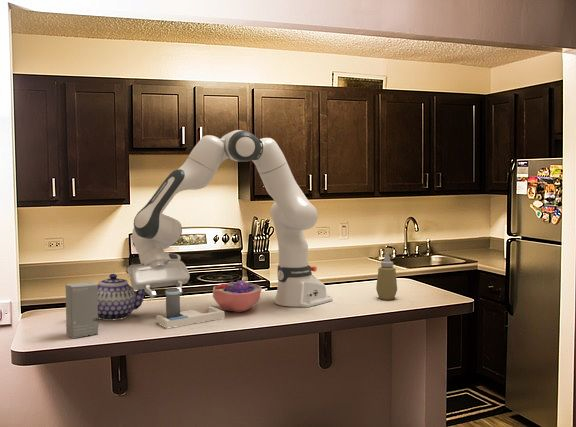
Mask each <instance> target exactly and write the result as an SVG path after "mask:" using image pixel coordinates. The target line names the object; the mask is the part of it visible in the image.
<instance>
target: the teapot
mask: <svg viewBox="0 0 576 427" xmlns="http://www.w3.org/2000/svg"><path fill="white" fill-rule="evenodd" d="M108 277H109V278H106V279H103V280H100V281H98V282H97V293H98V319H99V318H100V320H101V319H103V320H102V321H114V320H113V319H120V320H122V319H121V318H124V319H126V318H128V317H129V316H130V315H131V314H132V312H133V311H135V310H138V309H139V308H141V306H142V304H143V301H144V297H145V291H144V289H140V290H135V289H133V288H132V285H130V284H129V282H128V280H127V279H124V278H117V277H118V275H117V274H116V273H111V274H109V276H108ZM127 316H128V317H127ZM125 317H126V318H125Z"/></svg>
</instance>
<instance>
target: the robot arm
mask: <svg viewBox="0 0 576 427" xmlns="http://www.w3.org/2000/svg"><path fill="white" fill-rule="evenodd" d="M226 160H232V161H234V162H238V163H239V162H240V163H241V162H243V163H245V162H250V161H251V162H252V163H253V164H254V166H255V168H256V170H257V172H258V174H259V177H260V179H261V180H262V183H263V186H264V187H265V190H266V192H267V193H268V195H269V196H270V197H271V198H272V199H273V201H274V202H273V204H272V205H271V207H270V211H269V216H270V219H271V220H272V222H273V226H274V230H275V234H276V240H277V245H278V265H277V280H278V282H277V290H276V294H275V295H276V296H275V300H274V303H275V304H276V305H279V306H283V307H299V308H300V307H301V308H310V307H313V306H318V305H321V304H325V303H328V302H333V298H332V296H330V295H328V294H327V289H326V285H325V283H323V282H322V281H321V280H320V279H318V278H317V277H316V276H315V275H313V272H317V269H318V268H317V266H314V265H309V249H308V248H309V245H308V242H307V240H306V238H305V235H304V231H305V230H311V228H313V227H315V225H316V223H317V222H318V218H319V214H318V210H317V208H316V207H315V205H313V204H312V203H311V202H310V201H309V199H308V197H306V195H305V194H304V192H303V190H302V189H301V187H300V186H299V184H298V183H297V181H296V179H295V177H294V175H293V173H292V171H291V168H290V166H289V163H288V162H287V159H286V156H285V155H284V152H283V151H282V149H281V148H280V147H279V144H278V143H277V141H276V140H275V139H273V138H271V137H263V138H259V137H257V136H256V135H255V134H253V133H251V132H250V131H248V130H247V131H246V130H242V129H236V130H232V131H228V132H226V133H224V134H223V135H221V136H220V137H218V136H215V135H212V134H211V135H210V134H207V135H204V136H202V137H201V138H200V139H199V141H198V142H197V143H196V144H195V146H194V147H193V148H192V150H191V151H190V153H189V155H188V156H187V158H186V160H185V161H184V163H183V164H182V165H181V166H180V167H179V168H177V169H174V170H173V171H172V172H171V173H169V175H167V177H166V178H165V179H164V180H163V181H162V183H161V185H160V186H159V188H158V189H156V191H155V192H154V194H153V195H152V196H151V198H150V199H149V200H148V202H147V203H146V204H145V205H144V207H142V208H141V209H140V210H139V211H138V212H137V214H136V215H135V217H134V219H133V229H132V233H131V236H132V242H133V245H134V248H135V250H136V253H137V254H138V257H139V258H138V259H139V261H140V263H136V264H130V265H129V266H128V267H126V271H127V274H128V275H129V277H130V284H131V285H130V286H131V287H132V288H133V289H134V291H137V290H140V289H144V293H146V294H147V295H149V298H150V299H156V297H157V293H156V291H155V290H152V289H154V288H155V289H156V288H161V287H168V286H169V287H170V286H176V288H177V289H180V295H182V294H183V289H182V286H183V285H185V284H187V283H188V282H189V280H190V278H191V277H190V274H191V273H190V272H189V270H188V267H187V266H186V264H185V262H183V261H182V260H181V259H182V258H181V255H180V254H178V253H171V252H167V251H165V249H168V248H170V247H171V246H173V245H174V244H175V243H177V242H178V241H179V240H180V239H181V237H182V233H183V227H182V226H183V225H182V223H181V222H180V221H179V220H177V219H176V218H173V217H170V216H169V215H166V214H163V212H165V209H166V208H167V207H168V206H169V204H170V202H172V200H173V199H174V197H176V196H177V194H178V193H180V192H183V191H188V190H191V191H192V190H193V191H195V190H201V189H204V188H206V187H207V186H209V184H210V183H211V181H212V180H213V178H214V176H215V175H216V173H217V172H218V169H219V167H220V165H221V164H222V163H223V162H224V161H226Z"/></svg>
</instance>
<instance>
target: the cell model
mask: <svg viewBox="0 0 576 427" xmlns="http://www.w3.org/2000/svg"><path fill="white" fill-rule="evenodd" d="M212 288H213V289H212V298H213V299H214V301H215V302H216V303H217V304H218V305H219V307H220V308H221V309H223V311H224V310H225V311H227V312H236V313H242V312H245V311H248V310H250V309H251V308H253V307H255V306H256V305H257V304H258V302H259V301H260V299H261V292H262V290H263V288H262V287H261V286H260V285H258V284H256V283H255V284H254V283H251V281H249V282H246V281H245V280H239V279H237V281H236V282H235V281H230V282H228V283H227V282H226V283H220V284H218V285H215V286H213V287H212Z"/></svg>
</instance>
